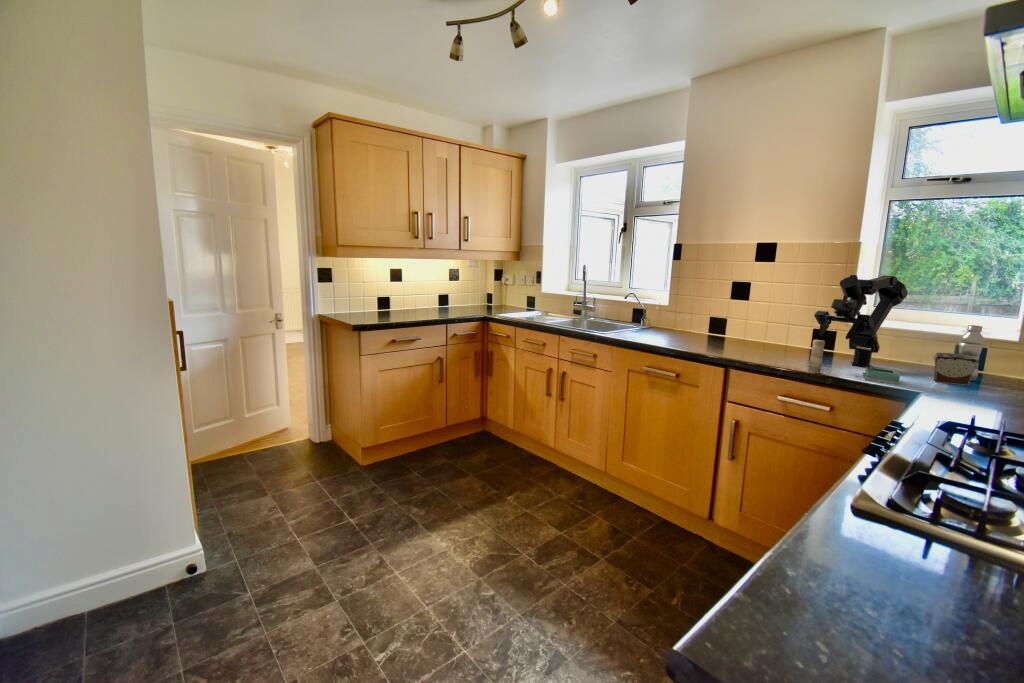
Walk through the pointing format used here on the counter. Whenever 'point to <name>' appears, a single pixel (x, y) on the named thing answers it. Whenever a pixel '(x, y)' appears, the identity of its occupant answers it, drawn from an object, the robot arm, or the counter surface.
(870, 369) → the collar plate
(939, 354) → the food container
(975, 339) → the plastic bottle
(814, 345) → the dowel
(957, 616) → the counter surface
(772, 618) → the counter surface
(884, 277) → the robot arm
